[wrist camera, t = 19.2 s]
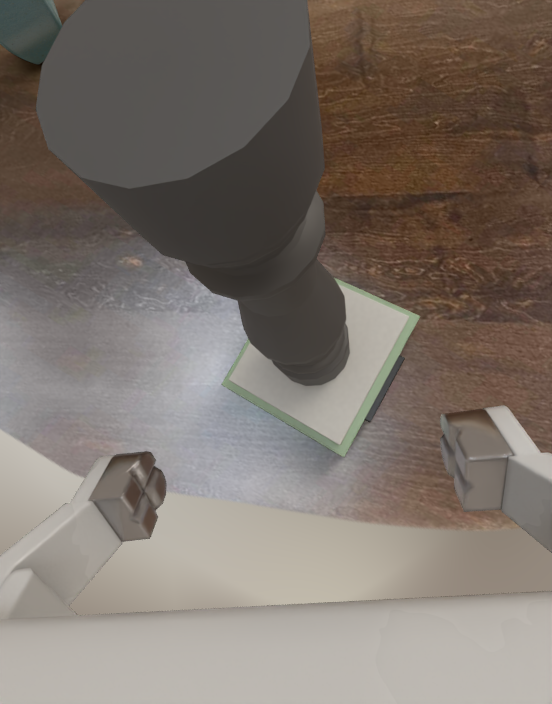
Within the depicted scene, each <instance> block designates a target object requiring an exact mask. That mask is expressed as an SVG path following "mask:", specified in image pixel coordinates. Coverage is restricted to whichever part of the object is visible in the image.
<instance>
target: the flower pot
mask: <svg viewBox="0 0 552 704" xmlns="http://www.w3.org/2000/svg"><path fill="white" fill-rule="evenodd" d="M61 28H62V24H61V21H60V19H59V16H58V13H57V10H56V7H55V4H54V2H53V0H0V44H1V45H2V46H3V47H4V48H6V49H7V50H8V51H10V52H11V53H13V54H14V55H16V56H18V57H20V58H22V59H24V60H26V61H29V62H31V63H34V64H40V63H42V62H43V61H44V60H45V59H46V57H47V55H48V53H49V51H50V49H51V47H52V45H53V43H54V41H55V39H56V37H57V35H58V34H59V32H60V30H61Z"/></svg>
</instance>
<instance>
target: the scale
mask: <svg viewBox="0 0 552 704" xmlns="http://www.w3.org/2000/svg"><path fill="white" fill-rule="evenodd" d="M335 280H336V281H337V283H338V285H339V287H340V289H341V291H342V292H343V294H344V296H345V308H346V322H345V323H346V325H347V327H348V337H349V349H350V354H349V357H348V360H347V363H346V366H345V368H344V369H343V370H342V371H341V372H340V373H339V374H338V376H337V377H336V378H335V379H333V380H331V381H329V382H327V383H325V384H322V385H314V386H305V385H302V384H299V383H296V382H293V381H292V380H290V379H289V378H288V377H287V376H286V375H285V374H284V373H283V372H281V371H280V370H279V369H278V368H277V367H276V366H275V365H274V364H273V362H272V360H270V359H267V358H266V357H265V356H264V355H263V354H262V353H261V352H260V351H259V350H257V349H256V348H255V347H254V346H253V345H252V344H251V343H250V341H249V339H248V340H247V342H246V343H245V345H244V347H243V348H242V350H241V352H240V354H239V355H238V357H237V359H236V361H235V362H234V364H233V366H232V367H231V369H230V371H229V373H228V374H227V376H226V378H225V379H224V381H223V383H222V385H223V386H224V387H226V388H228V389H229V390H231V391H233V392H234V393H236V394H238V395H239V396H241V397H243V398H245V399H246V400H248V401H250V402H251V403H253V404H255V405H256V406H258V407H260V408H261V409H263V410H265V411H266V412H268V413H270V414H271V415H273V416H275V417H276V418H278V419H280V420H281V421H283V422H285V423H286V424H288V425H290V426H292V427H293V428H295V429H297V430H298V431H300V432H302V433H303V434H305V435H307V436H308V437H310V438H312V439H313V440H315V441H317V442H318V443H320V444H322V445H323V446H325V447H327V448H328V449H330V450H332V451H333V452H335V453H337V454H339V455H340V456H342V457H345V455H346V453H347V451H348V450H349V448H350V446H351V444H352V442H353V440H354V438H355V437H356V435H357V433H358V431H359V429H360V427H361V425H362V424H363V422H364V420H366V421H368V422H371V420H372V418H373V416H374V415H375V413H376V411H377V409H378V407H379V405H380V403H381V402H382V400H383V398H384V396H385V394H386V392H387V390H388V389H389V387H390V385H391V383H392V381H393V379H394V377H395V375H396V374H397V372H398V370H399V368H400V366H401V364H402V362H403V361H404V359H405V358H404V357H402V356H400V353H401V351H402V349H403V347H404V346H405V344H406V342H407V340H408V338H409V336H410V334H411V333H412V331H413V329H414V327H415V325H416V323H417V321H418V319H419V317H420V316H418V315H416V314H414V313H411V312H409V311H407V310H405V309H403V308H400V307H398V306H396V305H394V304H391V303H389V302H387V301H385V300H383V299H380V298H378V297H376V296H374V295H371V294H369V293H367V292H365V291H363V290H360V289H358V288H356V287H354V286H351V285H349V284H347V283H345V282H343V281H340V280H338V279H336V278H335Z"/></svg>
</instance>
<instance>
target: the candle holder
mask: <svg viewBox="0 0 552 704" xmlns="http://www.w3.org/2000/svg"><path fill="white" fill-rule="evenodd" d="M36 112H37V115H38V118H39V121H40V124H41V127H42V130H43V133H44V136H45V139H46V143H47V146H48V149H49V150H50V151H51V152H52V153H53V154H54V155H56V156H57V157H58V158H59V159H60V160H61V161H62V162H63V163H64V164H65V165H66V166H67V167H68V168H69V169H70V170H72V171H73V172H74V173H75V174H76V175H77V176H78V177H79V178H80V179H81V180H82V181H83V182H84V183H85V184H86V185H88V186H89V187H90V188H91V189H92V190H93V191H94V192H95V193H96V194H97V195H98V196H99V197H100V198H101V199H103V200H104V201H105V202H106V203H107V204H108V205H109V206H110V207H111V208H112V209H113V210H114V211H115V212H116V213H117V214H119V215H120V216H121V217H122V218H123V219H124V220H125V221H126V222H127V223H128V224H129V225H130V226H131V227H132V228H133V229H135V230H136V231H137V232H138V233H139V234H140V235H141V236H142V237H143V238H144V239H146V240H147V241H148V242H149V243H150V244H151V245H152V246H153V247H155V248H156V249H157V250H158V251H159V252H160V253H161V254H162V255H164V256H168V257H171V258H175V259H178V260H182V261H185V262H186V264H187V266H188V269H189V271H190V273H191V274H192V275H193V276H194V277H195V278H197V279H198V280H199V281H200V282H201V283H202V284H203V285H204V286H206V287H207V288H208V289H209V290H210V291H211V292H212V293H215V294H218V295H221V296H225V297H228V298H231V299H235V300H238V305H239V309H240V314H241V319H242V324H243V327H244V330H245V332H246V334H247V336H248V339H249V341H250V343H251V344H252V345H253V346H254V347H255V348H256V349H257V350H259V351H260V352H261V353H262V354H263V355H264V356H265V357H266V358H267V359H270V360H272V362H273V364H274V365H275V366H276V367H277V368H278V369H279V370H280V371H281V372H283V373H284V374H285V375H286V376H287V377H288V378H289V379H290V380H292V381H293V382H296V383H299V384H302V385H305V386H314V385H322V384H325V383H327V382H329V381H331V380H333V379H335V378H336V377H337V376H338V374H339V373H340V372H341V371H342V370H343V369H344V368H345V366H346V363H347V360H348V357H349V354H350V349H349V337H348V327H347V325H346V323H345V322H346V308H345V296H344V294H343V292H342V291H341V289H340V287H339V285H338V283H337V281H336V280H335V278H334V277H333V276H332V275H331V274H330V273H329V272H328V271H327V270H326V269H325V268H324V266H323V265H322V264H321V263H320V262H319V261H318V260H317V256H318V253H319V251H320V248H321V245H322V243H323V240H324V237H325V221H324V206H323V201H322V200H321V198H320V196H319V194H318V193H317V191H316V189H317V187H318V184H319V182H320V179H321V176H322V174H323V171H324V154H323V139H322V127H321V119H320V110H319V101H318V92H317V83H316V75H315V66H314V57H313V48H312V39H311V31H310V22H309V13H308V4H307V0H85V1H84V2H83V3H82V4H81V5H80V7H79V8H78V9H77V10H76V11H75V12H74V13H73V14H72V15H71V16H70V17H69V18H68V19H67V20H66V21H65V22H64V24H63V26H62V28H61V30H60V32H59V34H58V35H57V37H56V39H55V41H54V43H53V45H52V47H51V49H50V51H49V53H48V55H47V57H46V59H45V60H44V62H43V64H42V68H41V75H40V82H39V90H38V97H37V104H36Z"/></svg>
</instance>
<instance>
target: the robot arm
mask: <svg viewBox="0 0 552 704" xmlns="http://www.w3.org/2000/svg"><path fill="white" fill-rule="evenodd" d="M440 426H441V428H442V430H443V433H444V435H443V436H442V437H441V438H440V441H441V452H442V458H443V461H444V464H445V467H446V470H447V472H448V474H449V475H450V476H452V477H453V478H454V489H455V492H456V494H457V496H458V499H459V501H460V503H461V506H462V508H463V510H464V512H468V511H485V510H502V512H503V513H504V514H505V515H507V516H508V517H509V518H510V519H511V520H513V521H514V522H515V523H516V524H517V525H519V526H520V527H521V528H522V529H523V530H525V531H526V532H527V533H528V534H529V535H531V536H532V537H533V538H534V539H535V540H537V541H538V542H539V543H540V544H542V545H543V546H544V547H545V548H546V549H547V550H549V551H550V552H551V553H552V454H550V453H541V452H540V451H539V449H538V448H537V447H536V445H535V444H534V443H533V441H532V440H531V438H530V437H529V436H528V434H527V433H526V432H525V430H524V429H523V427H522V426H521V425H520V423H519V422H518V421H517V419H516V418H515V417H514V415H513V414H512V412H511V411H510V410H509V408H508V407H506V406H497V407H489V408H483V409H476V410H469V411H461V412H454V413H446V414H442V415H441V418H440ZM155 461H156V459H155V458H154V456H153V455H152V453H151V452H147V451H146V452H136V453H126V454H116V455H110V456H101V457H100V458H98V459H97V460H96V461H95V463H94V464H93V466H92V468H91V469H90V471H89V472H88V474H87V476H86V477H85V479H84V481H83V482H82V484H81V486H80V488H79V489H78V491H77V492H76V494H75V496H74V497H73V499H72V501H71V502H70V503H65V504H64V505H63V506H61V507H60V508H59V509H58V510H56V511H55V512H54V513H53V514H51V515H50V516H49V517H48V518H46V519H45V520H44V521H43V522H41V523H40V524H39V525H38V526H36V527H35V528H34V529H33V530H31V531H30V532H29V533H28V534H26V535H25V536H24V537H22V538H21V539H20V540H19V541H18V542H16V543H15V544H14V545H12V546H11V547H10V548H9V549H7V550H6V551H5V552H4V553H2V554H1V555H0V704H552V591H542V592H541V591H540V592H521V593H502V594H482V595H463V596H445V597H424V598H405V599H387V600H368V601H367V600H366V601H349V602H328V603H308V604H289V605H271V606H252V607H232V608H214V609H194V610H176V611H175V610H174V611H156V612H136V613H116V614H96V615H77V614H76V613H75V612H74V611H73V610H72V609H71V608H70V607H69V605H70V604H71V603H72V602H73V601H74V600H75V598H76V597H77V596H78V595H79V594H80V593H81V591H82V590H83V589H84V588H85V587H86V585H87V584H88V583H89V582H90V580H92V579H93V577H94V576H95V575H96V574H97V573H98V571H99V570H100V569H101V568H102V567H103V566H104V565H105V563H106V562H107V561H108V560H109V559H110V558H111V556H112V555H113V554H114V553H115V552H116V550H117V549H118V548H119V547H120V546H121V545H122V542H124V541H132V540H141V539H150V537H151V534H152V532H153V529H154V526H155V523H156V521H157V518H158V516H157V513H156V511H155V510H156V509H157V508H158V507H159V506H160V505H161V504H163V501H164V498H165V495H166V480H165V476H164V474H163V472H162V471H161V470H160V469H158V468H157V467H155V466H154V464H155Z"/></svg>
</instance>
